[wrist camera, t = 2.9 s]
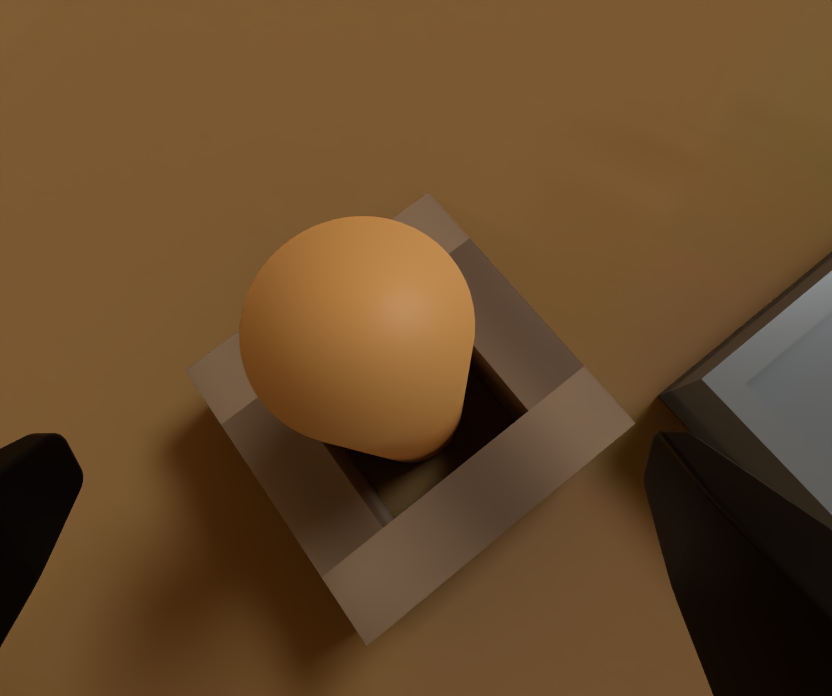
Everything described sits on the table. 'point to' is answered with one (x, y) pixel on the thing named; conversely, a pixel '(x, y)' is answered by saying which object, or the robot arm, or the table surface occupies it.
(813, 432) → the tray
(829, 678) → the robot arm
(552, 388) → the socket block
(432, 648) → the table surface
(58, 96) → the table surface
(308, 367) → the pin
